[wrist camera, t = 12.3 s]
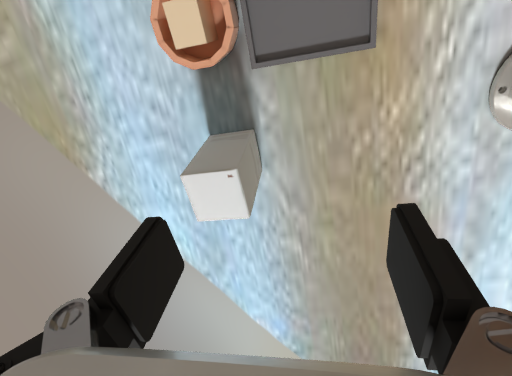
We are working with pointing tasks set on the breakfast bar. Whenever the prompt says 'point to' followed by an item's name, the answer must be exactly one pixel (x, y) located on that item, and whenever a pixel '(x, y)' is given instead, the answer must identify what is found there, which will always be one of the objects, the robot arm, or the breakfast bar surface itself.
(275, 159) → the breakfast bar surface
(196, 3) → the beige rectangular block
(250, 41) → the tray
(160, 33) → the bowl
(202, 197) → the supplement box
